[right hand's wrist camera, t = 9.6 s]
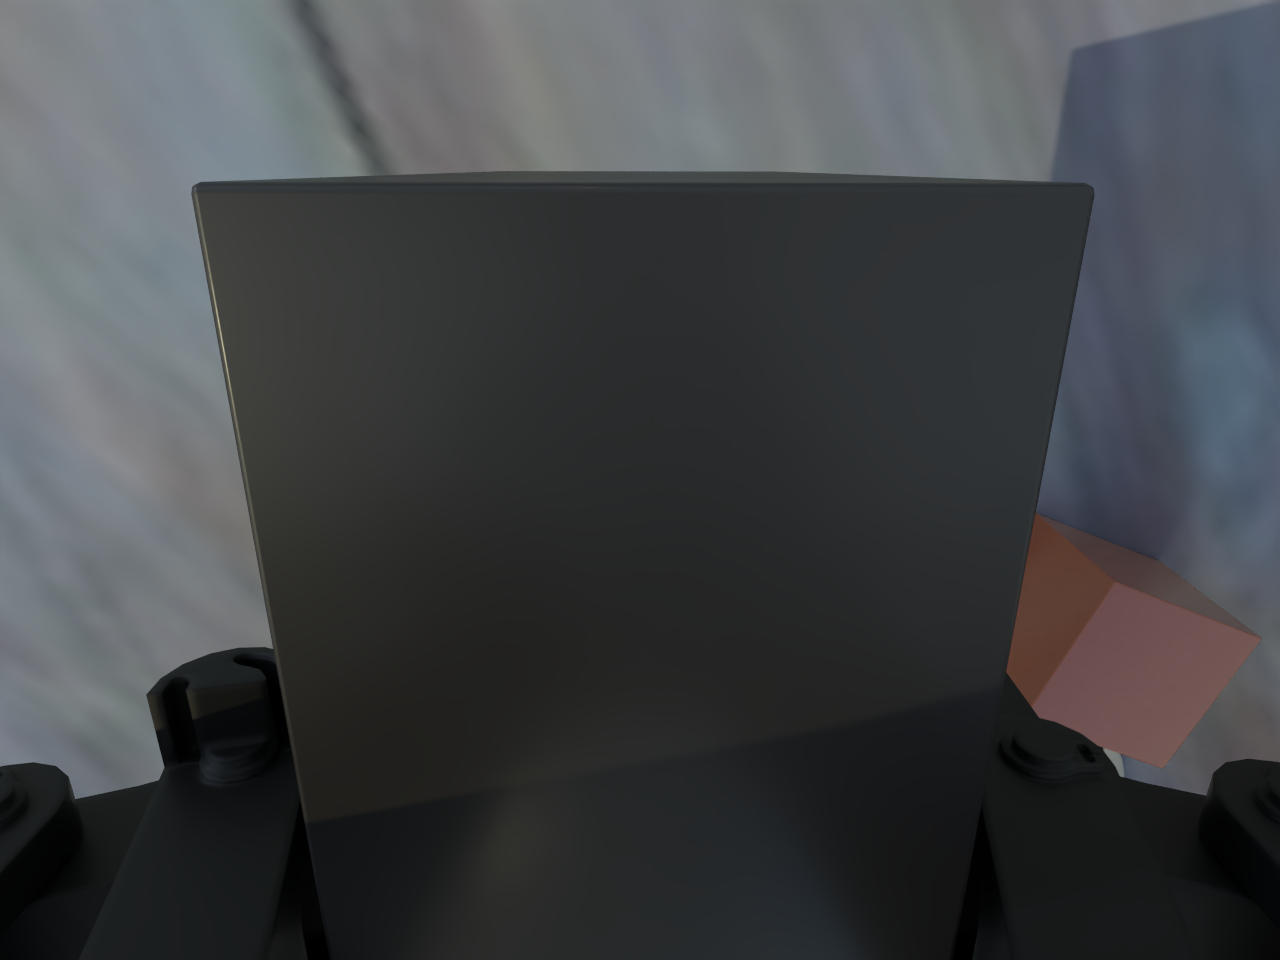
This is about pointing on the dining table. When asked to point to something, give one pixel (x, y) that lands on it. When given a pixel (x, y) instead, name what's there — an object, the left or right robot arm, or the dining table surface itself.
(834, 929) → the bar
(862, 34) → the dining table surface
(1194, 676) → the terracotta block
